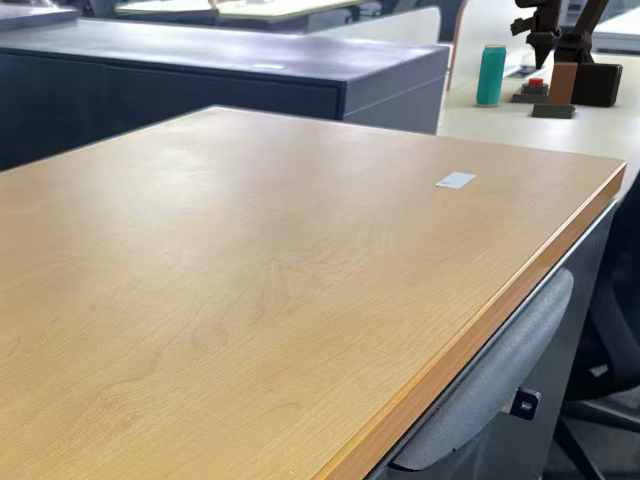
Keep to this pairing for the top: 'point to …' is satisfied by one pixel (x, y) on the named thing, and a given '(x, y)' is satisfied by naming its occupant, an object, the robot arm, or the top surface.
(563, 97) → the brown box
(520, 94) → the power panel
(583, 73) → the electronic device
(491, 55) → the beverage can
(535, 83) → the power button
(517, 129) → the top surface
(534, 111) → the block
